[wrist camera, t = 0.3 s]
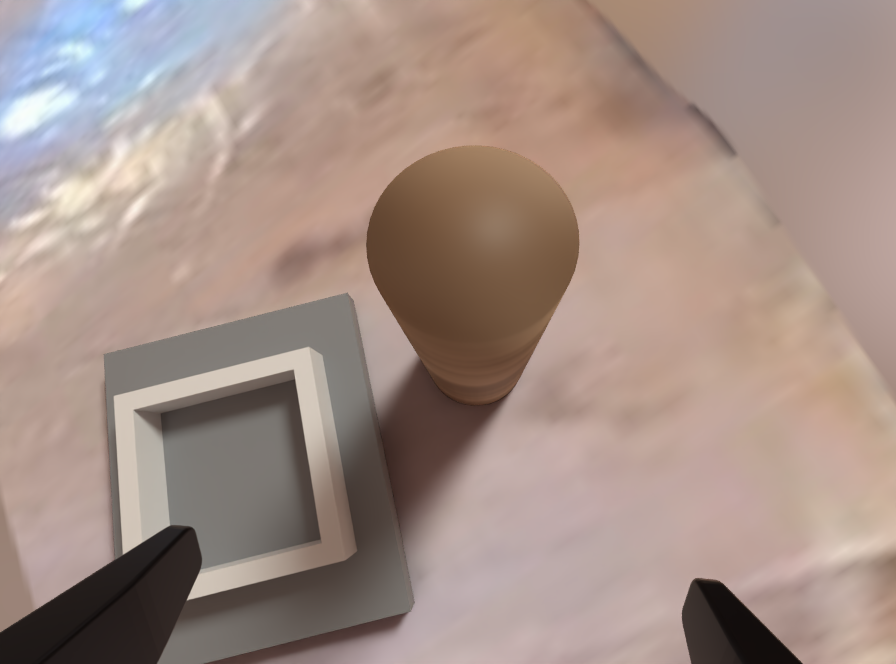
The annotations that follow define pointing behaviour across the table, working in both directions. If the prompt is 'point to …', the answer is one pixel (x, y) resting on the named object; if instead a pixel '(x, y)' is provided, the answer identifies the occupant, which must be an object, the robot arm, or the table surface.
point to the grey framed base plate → (259, 477)
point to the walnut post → (473, 264)
